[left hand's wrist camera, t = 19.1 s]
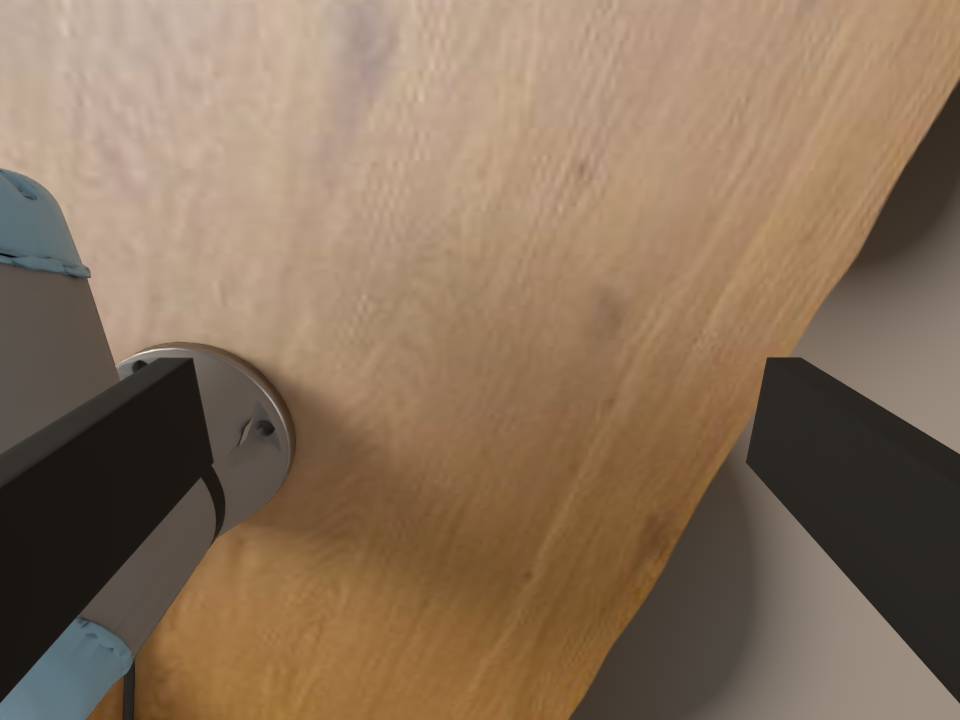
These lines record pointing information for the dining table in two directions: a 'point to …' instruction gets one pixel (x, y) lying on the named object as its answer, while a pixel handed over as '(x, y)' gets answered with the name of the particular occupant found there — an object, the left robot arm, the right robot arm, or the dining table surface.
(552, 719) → the dining table surface
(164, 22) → the dining table surface
